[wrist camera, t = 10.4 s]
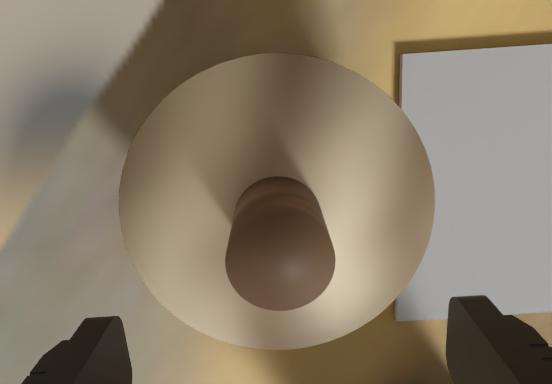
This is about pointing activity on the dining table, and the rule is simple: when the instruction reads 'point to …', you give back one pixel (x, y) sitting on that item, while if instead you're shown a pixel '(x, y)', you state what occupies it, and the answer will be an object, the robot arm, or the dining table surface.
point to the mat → (483, 177)
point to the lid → (276, 201)
